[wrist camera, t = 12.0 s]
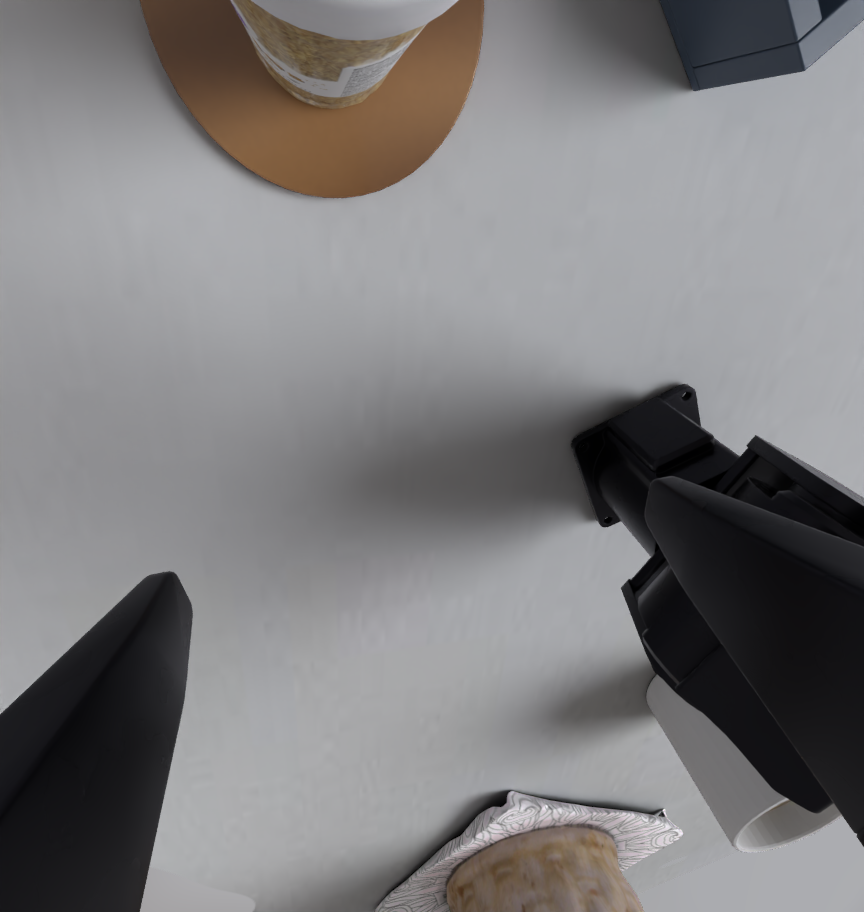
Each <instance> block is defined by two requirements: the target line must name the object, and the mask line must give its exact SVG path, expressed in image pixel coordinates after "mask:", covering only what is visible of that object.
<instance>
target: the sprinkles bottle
mask: <svg viewBox="0 0 864 912" xmlns="http://www.w3.org/2000/svg"><path fill="white" fill-rule="evenodd" d="M230 1H231V3H232V5H233V7H234V8H235V10H236V12H237V14H238V16H239V18H240V19H241V21H242V23H243V25H244V27H245V29H246V31H247V32H248V34H249V36H250V38H251V40H252V42H253V46H254V48H255V50H256V53H257V55H258V56H259V58H260V60H261V61H262V63H263V65H264V66H265V68H266V69H267V71H268V72H269V73H270V74H271V75H272V77H273V78H274V79H275V80H276V81H277V82H278V83H279V84H280V85H281V86H282V87H283V88H284V89H285V90H286V91H288V92H289V93H290V94H291V95H293V96H294V97H295V98H297V99H298V100H300V101H302V102H304V103H307V104H310V105H313V106H316V107H319V108H329V109H340V108H344V107H348V106H351V105H356V104H359V103H361V102H363V101H364V100H365V99H366V98H367V97H368V96H369V95H370V94H372V93H373V92H375V91H376V90H377V89H378V88H379V86H380V85H381V84H382V83H383V81H384V80H385V78H386V77H387V75H388V73H389V71H390V70H391V69H392V67H393V66H394V65H395V63H396V62H397V61H398V59H399V58H400V57H401V56H402V54H403V53H404V52H405V50H406V49H407V48H408V47H409V45H410V44H411V43H412V41H413V40H414V39H415V38H416V37H417V35H418V34H419V33H420V32H421V31H422V29H423V28H424V27H425V26H426V25H427V23H428V22H430V21H432V20H433V19H435V18H437V17H438V16H440V15H442V14H443V13H444V12H445V11H447V10H448V9H449V8H450V7H451V6H453V5H454V4H455V3H456V2H457V1H459V0H230Z"/></svg>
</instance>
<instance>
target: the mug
mask: <svg viewBox="0 0 864 912" xmlns="http://www.w3.org/2000/svg"><path fill="white" fill-rule="evenodd" d="M646 698H647V703H648V706H649V707H650V709H651V711H652V712H653V714H654V716H655V717H656V719H657V721H658V722H659V724H660V726H661V727H662V729H663V731H664V732H665V734H666V736H667V737H668V739H669V741H670V742H671V744H672V746H673V747H674V749H675V751H676V752H677V754H678V756H679V757H680V759H681V761H682V762H683V764H684V766H685V767H686V769H687V771H688V772H689V774H690V776H691V777H692V779H693V781H694V782H695V784H696V786H697V787H698V789H699V791H700V792H701V794H702V796H703V797H704V799H705V801H706V802H707V804H708V806H709V807H710V809H711V811H712V812H713V814H714V816H715V817H716V819H717V821H718V822H719V824H720V826H721V827H722V829H723V831H724V832H725V834H726V836H727V837H728V839H729V841H730V842H731V844H732V846H733V847H734V848H736V849H737V850H739V851H741V852H762V851H768V850H772V849H776V848H779V847H782V846H785V845H789V844H791V843H794V842H797V841H799V840H801V839H804V838H806V837H808V836H810V835H812V834H814V833H816V832H818V831H820V830H822V829H824V828H825V827H827V826H828V825H830V824H832V823H833V822H835V821H836V820H838V819H839V818H840V817H842V814H841V813H840V812H839V810H838V809H837V807H836V806H835V804H833V805H831V806H830V807H828V808H827V809H825V810H824V811H822V812H821V813H819V814H816V813H812V812H810V811H808V810H806V809H804V808H802V807H801V806H799V805H797V804H796V803H794V802H792V801H791V800H789V799H787V798H786V797H784V796H782V795H781V794H779V793H777V792H776V791H775V790H773V789H772V788H771V787H770V786H769V784H768V783H767V782H766V781H765V780H764V779H763V777H762V776H761V775H760V774H759V773H758V771H757V770H756V769H755V768H754V767H753V766H752V764H751V763H750V762H749V761H748V760H747V759H746V757H745V756H744V755H743V754H742V753H741V752H740V750H739V749H738V748H737V747H736V746H735V745H734V744H733V743H732V742H731V740H730V739H729V738H728V737H727V736H726V735H725V734H724V733H723V732H722V731H721V730H720V729H719V728H718V727H717V726H716V725H715V724H714V723H713V722H712V721H711V720H709V719H708V718H707V717H706V716H705V715H704V714H703V713H702V712H700V711H698V710H697V709H695V708H694V707H693V706H691V705H690V704H688V703H687V702H686V701H685V700H683V699H682V698H681V697H680V696H679V695H678V694H676V693H675V692H674V691H673V690H672V689H671V688H670V687H669V686H668V685H667V683H666V682H665V681H664V680H663V679H662V678H661V677H659V676H658V675H656V676H655V677H654V679H653V680H652V682H651V683H650V685H649V687H648V690H647V694H646Z"/></svg>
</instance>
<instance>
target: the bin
mask: <svg viewBox="0 0 864 912" xmlns="http://www.w3.org/2000/svg"><path fill="white" fill-rule="evenodd" d="M660 3H661V6H662V8H663V11H664V14H665V16H666V19H667V22H668V24H669V27H670V30H671V32H672V35H673V38H674V40H675V43H676V46H677V48H678V51H679V54H680V57H681V59H682V62H683V65H684V67H685V70H686V73H687V75H688V78H689V81H690V83H691V86H692V89H693V91H698V90H703V89H708V88H714V87H719V86H725V85H730V84H736V83H741V82H747V81H752V80H758V79H764V78H769V77H775V76H780V75H786V74H791V73H797V72H802V71H805V70H806V69H807V68H808V67H810V66H811V65H812V64H813V63H814V62H815V61H816V60H818V59H819V58H820V57H821V56H822V55H823V54H825V53H826V52H827V51H828V50H829V49H830V48H832V47H833V46H834V45H835V44H836V43H837V42H839V41H840V40H841V39H842V38H843V37H844V36H846V35H847V34H848V33H849V32H850V31H851V30H852V29H854V28H855V27H856V26H857V25H858V24H859V23H861V22H862V21H863V20H864V0H660Z"/></svg>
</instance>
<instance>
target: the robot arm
mask: <svg viewBox="0 0 864 912" xmlns="http://www.w3.org/2000/svg"><path fill="white" fill-rule="evenodd" d="M685 392H686V394H685V395H684V396H683V397H682V395H683V394H684V393H685ZM681 397H682V398H681ZM582 443H585V444H584V445H583V446H582V447H579V446H580V445H581V444H582ZM747 447H748V448H747V449H746V451H745V452H744V453H743V454H742V455H741V456H739V455H737V454H736V453H734V452H733V451H731V450H730V449H729V448H727V447H726V446H724V445H723V444H722V443H720V442H719V441H717V440H716V439H715V438H714V436H713V435H712V434H710V433H709V432H708V431H706V430H705V429H703V428H702V427H701V424H700V417H699V411H698V404H697V398H696V392H695V389H693V388H692V387H690V386H689V385H687V384H682V385H679V386H677V387H675V388H673V389H671V390H669V391H667V392H665V393H663V394H661V395H659V396H657V397H655V398H653V399H651V400H649V401H647V402H645V403H643V404H641V405H639V406H637V407H635V408H633V409H631V410H629V411H627V412H624V413H622V414H620V415H618V416H616V417H614V418H612V419H610V420H608V421H606V422H604V423H602V424H600V425H598V426H596V427H594V428H592V429H590V430H588V431H586V432H584V433H582V434H580V435H578V436H577V437H575V438H574V439H573V441H572V443H571V448H572V451H573V454H574V457H575V459H576V462H577V465H578V468H579V471H580V474H581V477H582V480H583V482H584V485H585V488H586V491H587V494H588V497H589V500H590V503H591V506H592V508H593V511H594V514H595V517H596V520H597V521H598V523H599V524H600V525H601V526H602V527H609V526H611V525H613V524H615V523H618V522H620V521H622V523H623V524H624V525H625V526H626V527H627V529H628V530H629V531H630V532H631V533H632V535H633V536H634V537H635V538H636V539H637V541H638V542H639V543H640V544H641V545H642V547H643V548H644V549H645V550H646V551H647V553H648V554H649V555H650V556H651V558H650V559H649V560H648V561H647V562H646V564H645V565H644V566H643V567H642V568H641V569H640V570H639V571H638V573H637V574H636V575H635V576H634V577H633V578H632V579H629V580H628V581H627V582H626V583H625V584H624V585H623V586H622V587H621V590H622V592H623V595H624V597H625V600H626V603H627V605H628V608H629V611H630V613H631V616H632V618H633V621H634V624H635V626H636V629H637V631H638V634H639V637H640V639H641V642H642V645H643V647H644V650H645V652H646V654H647V657H648V659H649V661H650V663H651V665H652V668H653V670H654V671H655V673H656V674H657V675H658V676H659V677H661V678H662V679H663V680H664V681H665V682H666V683H667V685H668V686H669V687H670V688H671V689H672V690H673V691H674V692H675V693H676V694H678V695H679V696H680V697H681V698H682V699H683V700H685V701H686V702H687V703H688V704H690V705H691V706H693V707H694V708H695V709H697V710H698V711H700V712H702V713H703V714H704V715H705V716H706V717H707V718H708V719H709V720H711V721H712V722H713V723H714V724H715V725H716V726H717V727H718V728H719V729H720V730H721V731H722V732H723V733H724V734H725V735H726V736H727V737H728V738H729V739H730V740H731V742H732V743H733V744H734V745H735V746H736V747H737V748H738V749H739V750H740V752H741V753H742V754H743V755H744V756H745V757H746V759H747V760H748V761H749V762H750V763H751V764H752V766H753V767H754V768H755V769H756V770H757V771H758V773H759V774H760V775H761V776H762V777H763V779H764V780H765V781H766V782H767V783H768V784H769V786H770V787H771V788H772V789H773V790H775V791H776V792H777V793H779V794H781V795H782V796H784V797H786V798H787V799H789V800H791V801H792V802H794V803H796V804H797V805H799V806H801V807H802V808H804V809H806V810H808V811H810V812H812V813H816V814H819V813H821V812H822V811H824V810H825V809H827V808H828V807H830V806H831V805H833V804H835V806H836V807H837V809H838V810H839V812H840V813H841V814H842V816H843V817H844V819H845V820H846V821H847V823H848V824H849V826H850V827H851V829H852V830H853V831H854V833H857V838H858V839H859V841H860V842H861V843H862V845H863V846H864V498H863V497H862V496H860V495H858V494H857V493H855V492H853V491H852V490H850V489H849V488H847V487H845V486H844V485H842V484H840V483H839V482H837V481H835V480H834V479H832V478H831V477H829V476H827V475H826V474H824V473H822V472H821V471H819V470H817V469H815V468H814V467H812V466H810V465H808V464H807V463H805V462H803V461H801V460H799V459H798V458H796V457H794V456H792V455H790V454H789V453H787V452H785V451H783V450H782V449H780V448H778V447H776V446H774V445H773V444H771V443H769V442H767V441H765V440H764V439H762V438H760V437H758V436H756V435H755V437H754V438H753V439H752V440H751V441H750V442H749V443H748V445H747ZM606 517H607V518H606ZM605 518H606V519H605ZM192 618H193V611H192V605H191V602H190V600H189V598H188V596H187V594H186V592H185V590H184V588H183V586H182V584H181V582H180V580H179V578H178V576H177V575H176V574H175V573H174V572H171V571H168V572H163V573H157V574H152V575H149V576H147V577H146V578H144V579H143V580H142V581H141V582H140V583H139V584H138V585H137V586H136V587H135V588H134V589H133V590H132V591H131V592H129V593H128V594H127V595H126V596H125V597H124V598H123V599H122V600H121V601H120V602H119V603H118V604H117V605H116V606H115V607H114V608H113V609H111V610H110V611H109V612H108V613H107V614H106V615H105V616H104V617H103V618H102V619H101V620H100V621H99V622H98V623H97V624H96V625H95V626H93V627H92V628H91V629H90V630H89V631H88V632H87V633H86V634H85V635H84V636H83V637H82V638H81V639H80V640H79V641H78V642H77V643H75V644H74V645H73V646H72V647H71V648H70V649H69V650H68V651H67V652H66V653H65V654H64V655H63V656H62V657H61V658H60V659H58V660H57V661H56V662H55V663H54V664H53V665H52V666H51V667H50V668H49V669H48V670H47V671H46V672H45V673H44V674H43V675H42V676H40V677H39V678H38V679H37V680H36V681H35V682H34V683H33V684H32V685H31V686H30V687H29V688H28V689H27V690H26V691H25V692H24V693H22V694H21V695H20V696H19V697H18V698H17V699H16V700H15V701H14V702H13V703H12V704H11V705H10V706H9V707H8V708H7V709H5V710H4V711H3V712H2V713H1V714H0V912H140V908H141V903H142V898H143V894H144V889H145V884H146V879H147V874H148V870H149V865H150V861H151V856H152V851H153V846H154V842H155V837H156V832H157V828H158V823H159V818H160V813H161V809H162V804H163V799H164V795H165V790H166V785H167V780H168V776H169V771H170V766H171V762H172V757H173V752H174V747H175V743H176V738H177V733H178V729H179V724H180V719H181V714H182V709H183V704H184V699H185V691H186V682H187V671H188V660H189V650H190V639H191V628H192Z"/></svg>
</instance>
